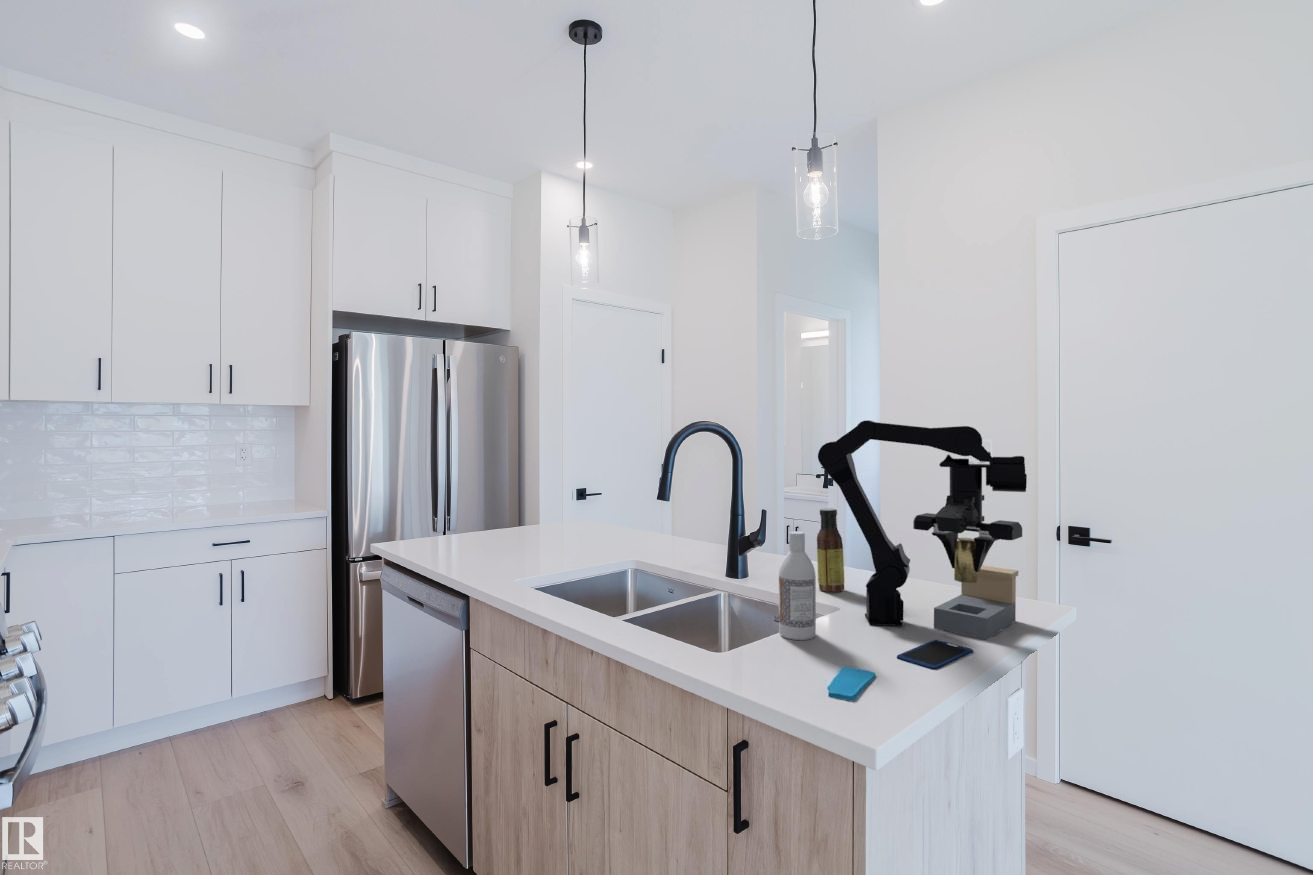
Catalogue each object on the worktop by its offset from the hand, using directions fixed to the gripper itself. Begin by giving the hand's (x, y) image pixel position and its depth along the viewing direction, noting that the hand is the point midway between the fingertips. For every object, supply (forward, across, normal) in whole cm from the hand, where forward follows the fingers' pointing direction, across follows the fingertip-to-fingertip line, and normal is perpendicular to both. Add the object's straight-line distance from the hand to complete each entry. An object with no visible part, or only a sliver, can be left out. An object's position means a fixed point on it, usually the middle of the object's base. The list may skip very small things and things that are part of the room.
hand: (965, 569), depth 127 cm
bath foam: (+12, -21, -26) cm, 36 cm away
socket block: (+12, 0, +6) cm, 13 cm away
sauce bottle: (+12, -36, +8) cm, 38 cm away
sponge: (+13, -2, -39) cm, 41 cm away
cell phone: (+13, +2, -17) cm, 21 cm away
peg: (+2, 0, 0) cm, 2 cm away
